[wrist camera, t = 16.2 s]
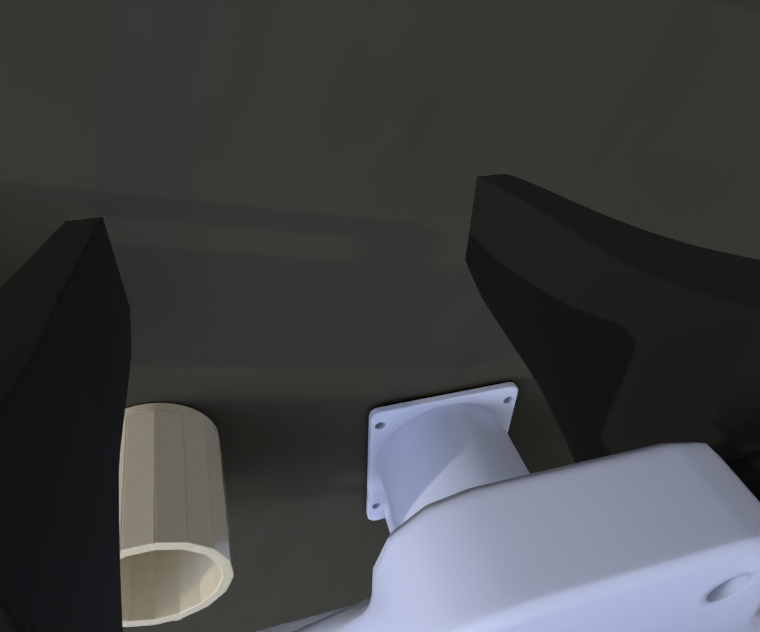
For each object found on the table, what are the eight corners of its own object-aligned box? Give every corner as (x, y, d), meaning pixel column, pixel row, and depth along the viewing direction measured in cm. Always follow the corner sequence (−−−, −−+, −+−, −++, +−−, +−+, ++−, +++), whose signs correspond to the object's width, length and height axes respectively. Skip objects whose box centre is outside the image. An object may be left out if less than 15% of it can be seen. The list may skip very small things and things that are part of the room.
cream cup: (69, 416, 25) (47, 567, 20) (209, 391, 26) (222, 527, 21) (116, 522, 30) (108, 664, 25) (233, 497, 32) (247, 627, 27)
